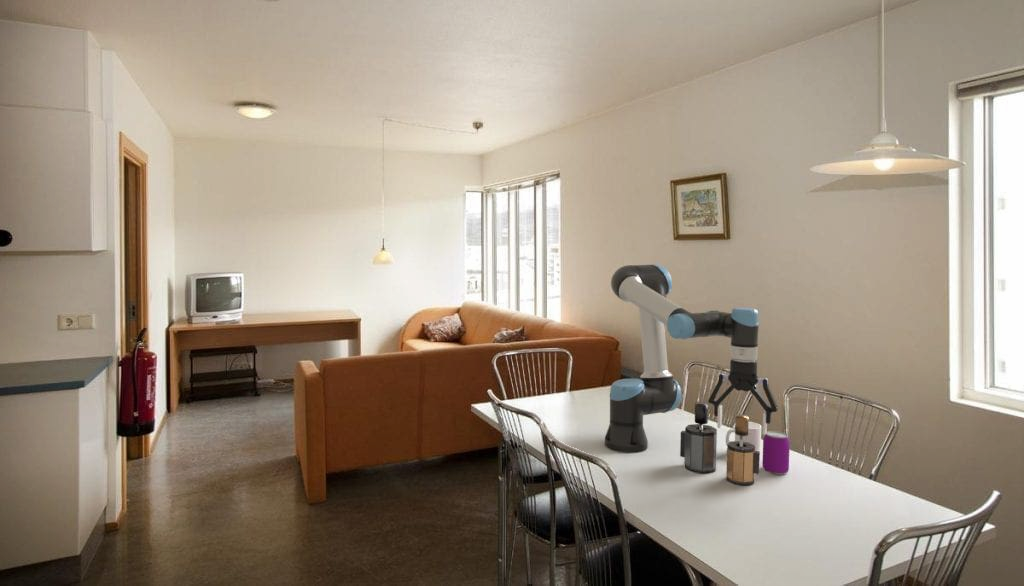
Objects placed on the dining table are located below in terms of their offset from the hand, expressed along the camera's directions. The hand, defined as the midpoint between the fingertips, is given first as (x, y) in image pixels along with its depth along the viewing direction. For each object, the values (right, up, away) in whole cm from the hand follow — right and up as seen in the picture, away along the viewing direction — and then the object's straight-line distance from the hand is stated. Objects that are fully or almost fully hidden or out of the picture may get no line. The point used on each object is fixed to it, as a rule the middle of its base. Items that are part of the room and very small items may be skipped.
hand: (741, 430), depth 180 cm
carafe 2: (0, -16, +1) cm, 16 cm away
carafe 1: (-9, -15, +11) cm, 21 cm away
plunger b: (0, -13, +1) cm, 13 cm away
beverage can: (+14, -15, +9) cm, 23 cm away
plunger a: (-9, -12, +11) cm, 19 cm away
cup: (+10, -14, +25) cm, 30 cm away
